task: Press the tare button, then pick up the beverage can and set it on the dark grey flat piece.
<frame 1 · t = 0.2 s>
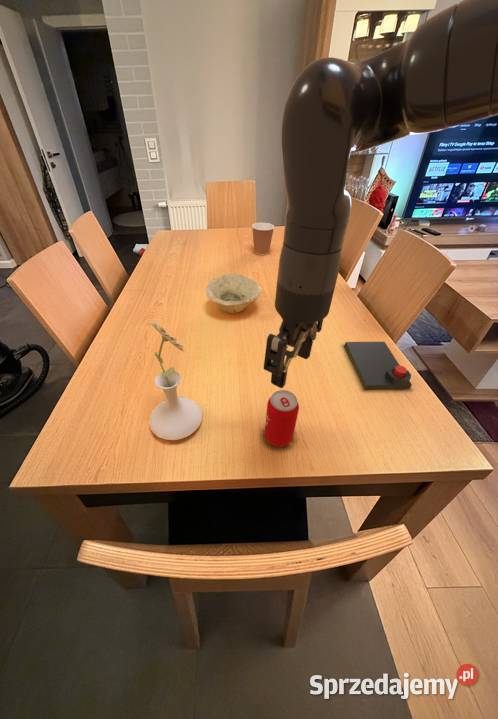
hand: (291, 369, 49), 22 cm above the table, tool pointing down, fingers open, 8 cm apart
coffee cup: (261, 252, 144), on the table
dark grey flat piece: (374, 366, 84), on the table
beverage can: (278, 436, 66), on the table
bowl: (232, 308, 105), on the table
tare button: (399, 371, 77), point 4 cm above the table, slide at 0.1 cm
flower in vase: (176, 420, 68), on the table
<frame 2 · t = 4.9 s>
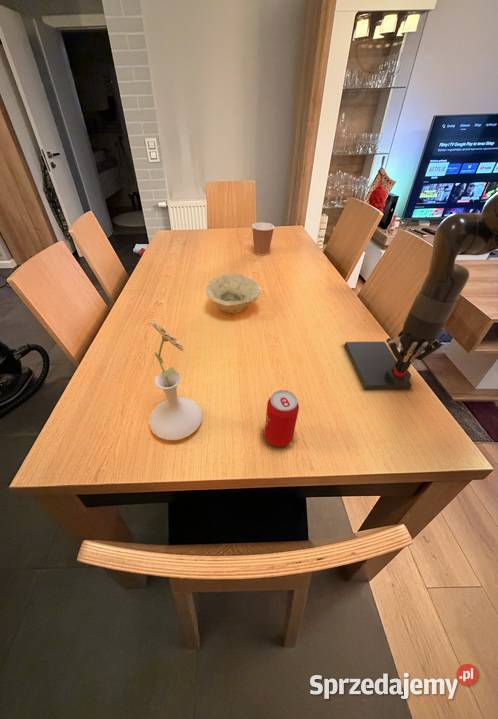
hand: (400, 370, 76), 4 cm above the table, tool pointing down, fingers closed
tare button: (399, 372, 77), point 4 cm above the table, slide at -0.3 cm, touching gripper
everything else where it was.
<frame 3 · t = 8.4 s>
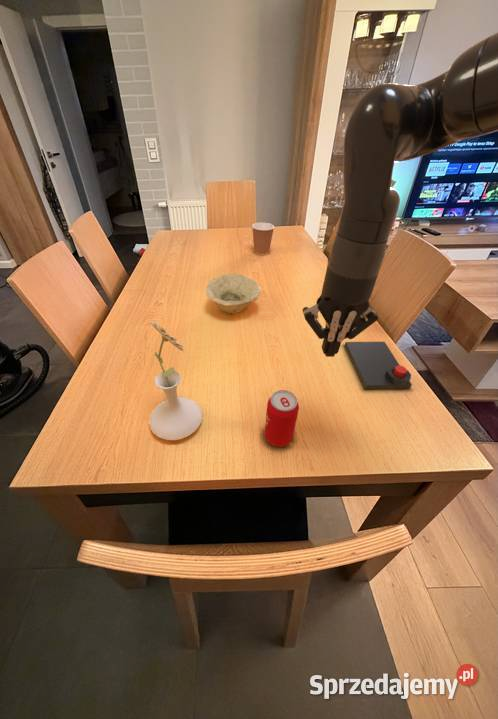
hand: (328, 353, 56), 20 cm above the table, tool pointing down, fingers closed
tare button: (399, 371, 77), point 4 cm above the table, slide at 0.1 cm
everything else where it was.
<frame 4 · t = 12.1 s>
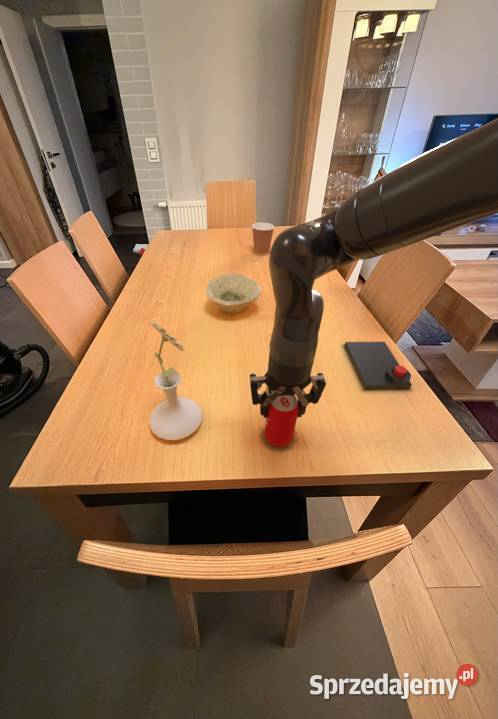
hand: (281, 414, 60), 8 cm above the table, tool pointing down, fingers closed on beverage can, 6 cm apart
beverage can: (278, 436, 66), on the table, touching gripper
everything else where it was.
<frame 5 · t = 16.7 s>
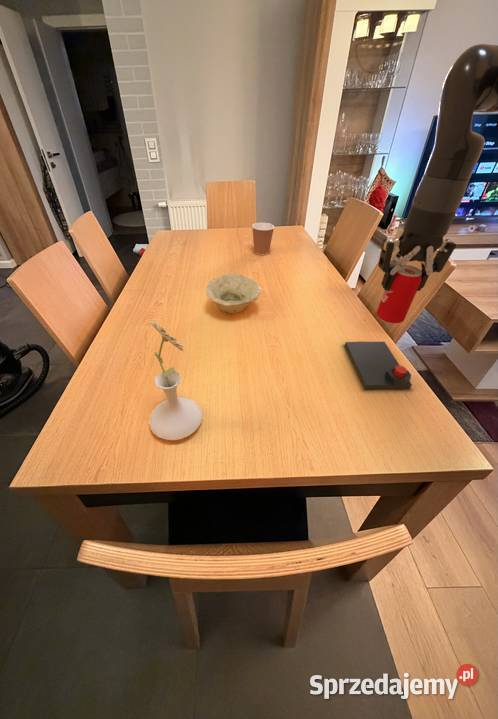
hand: (401, 288, 65), 25 cm above the table, tool pointing down, fingers closed on beverage can, 6 cm apart
beverage can: (388, 319, 70), point 18 cm above the table, touching gripper
everything else where it was.
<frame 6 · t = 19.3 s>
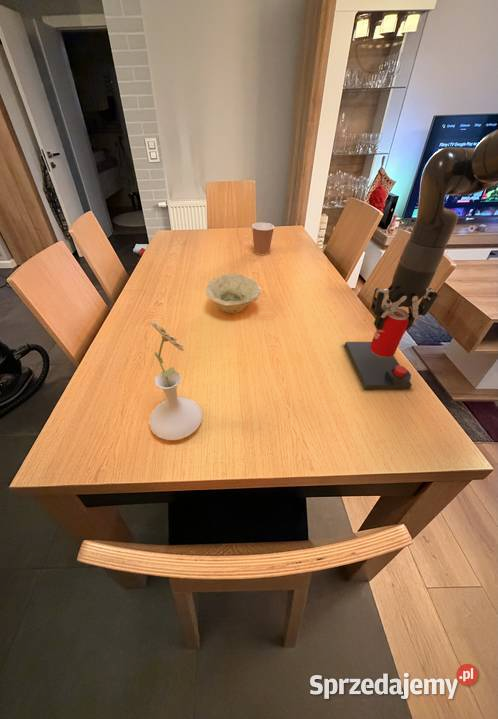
hand: (391, 328, 74), 14 cm above the table, tool pointing down, fingers closed on beverage can, 6 cm apart
beverage can: (381, 352, 79), point 6 cm above the table, touching gripper
everything else where it was.
when the fingers open (9 cm above the table, at t = 21.2 s): beverage can stays where it is, resting on dark grey flat piece.
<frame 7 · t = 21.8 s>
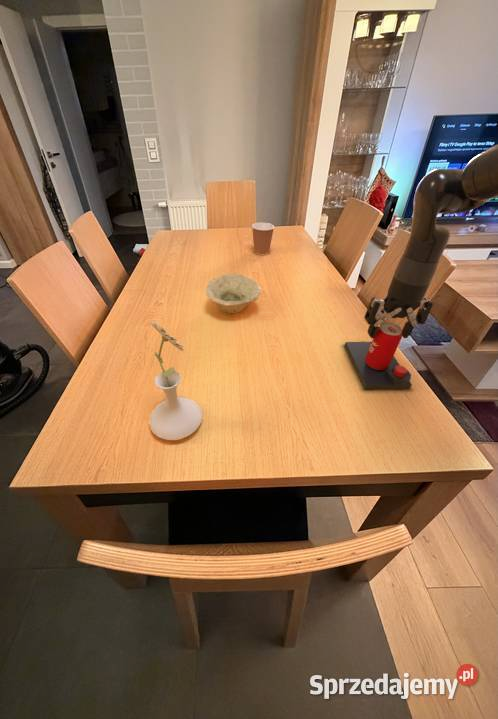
hand: (387, 336, 76), 11 cm above the table, tool pointing down, fingers open, 8 cm apart
beverage can: (375, 364, 82), point 2 cm above the table, touching dark grey flat piece
everything else where it was.
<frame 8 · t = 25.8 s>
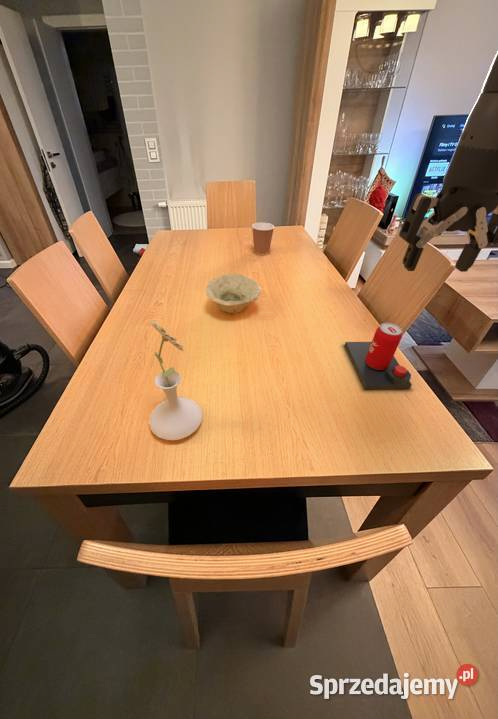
hand: (434, 269, 47), 36 cm above the table, tool pointing down, fingers open, 8 cm apart
nothing on the table moved.
at the end: tare button pushed in 1.1 cm at the most during the clip, back to where it started at the end; beverage can inside the target area on the dark grey flat piece (0.2 cm from its centre), point 1.5 cm above the dark grey flat piece's base; beverage can touching dark grey flat piece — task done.
